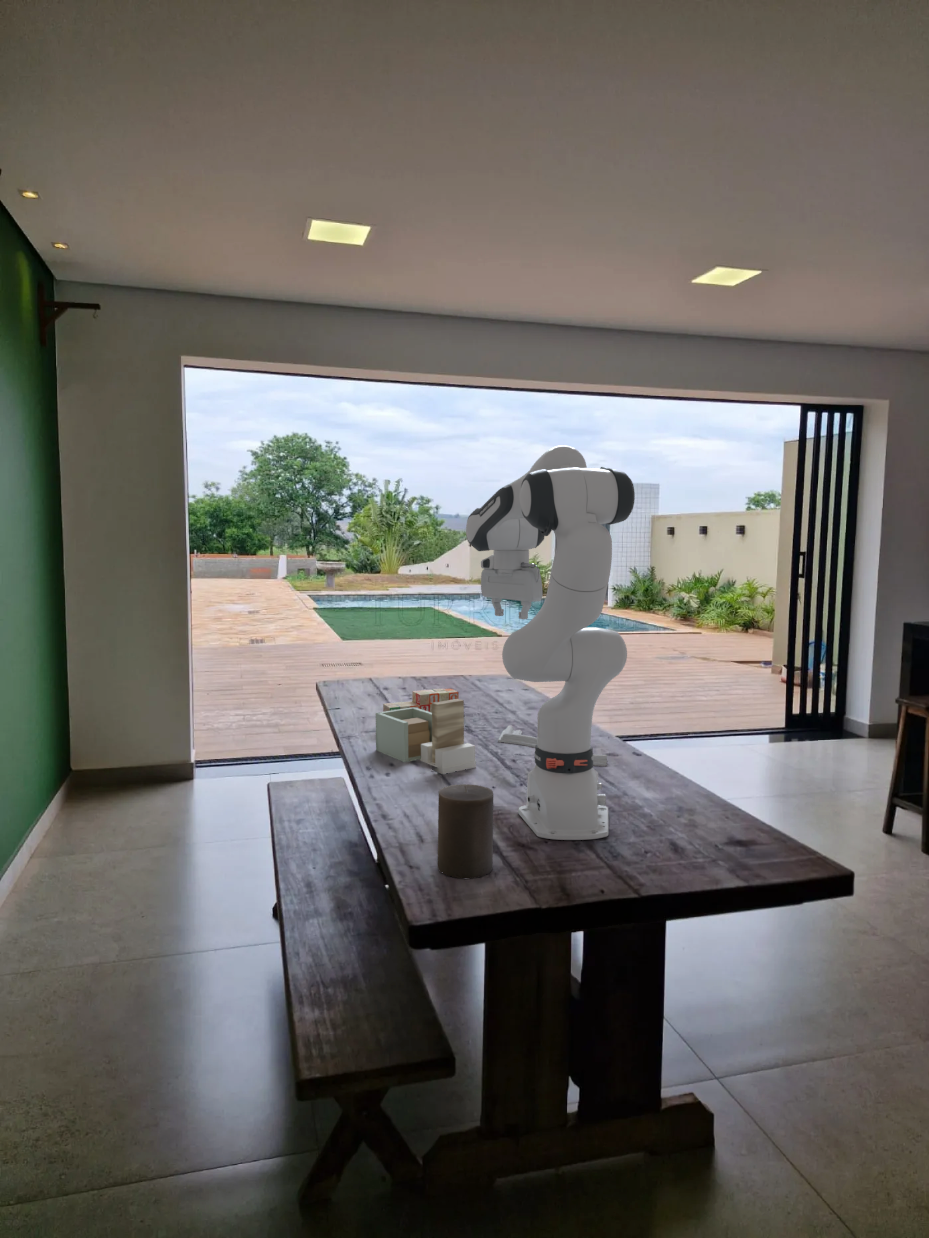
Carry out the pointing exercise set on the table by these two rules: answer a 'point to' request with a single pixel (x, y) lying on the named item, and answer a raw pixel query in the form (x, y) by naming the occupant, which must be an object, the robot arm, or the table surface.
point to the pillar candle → (465, 831)
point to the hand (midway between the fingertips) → (511, 617)
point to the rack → (403, 732)
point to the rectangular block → (447, 724)
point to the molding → (517, 738)
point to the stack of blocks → (424, 699)
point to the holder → (449, 757)
